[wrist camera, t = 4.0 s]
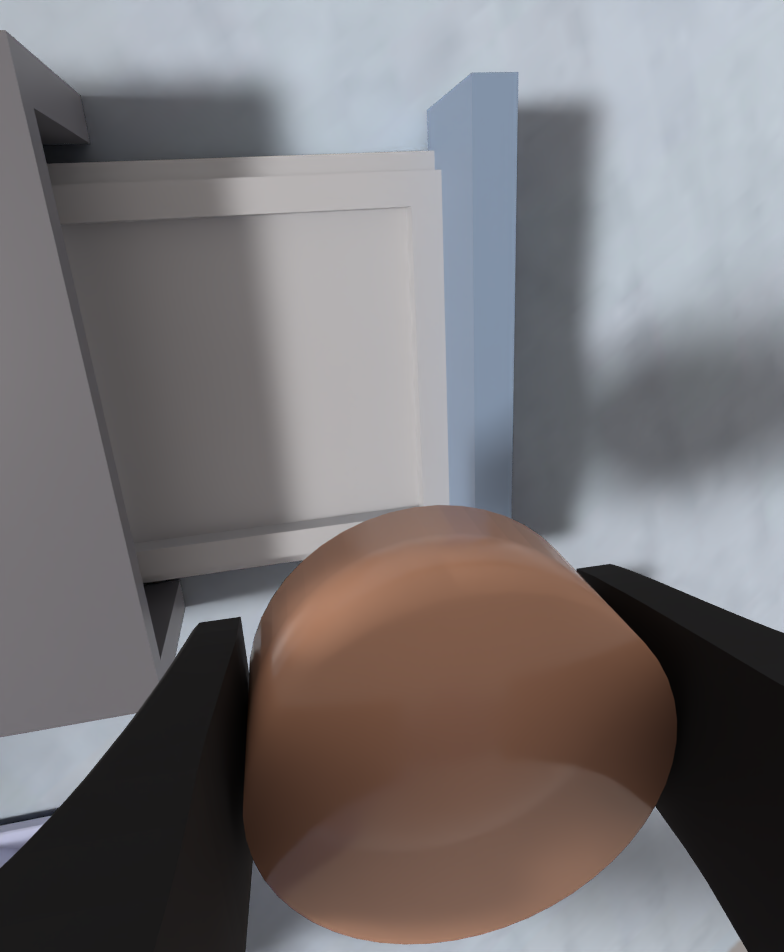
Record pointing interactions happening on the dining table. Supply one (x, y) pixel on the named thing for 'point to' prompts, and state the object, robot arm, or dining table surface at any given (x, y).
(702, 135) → the dining table surface
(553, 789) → the cylinder
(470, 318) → the tray
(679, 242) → the dining table surface
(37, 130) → the box
